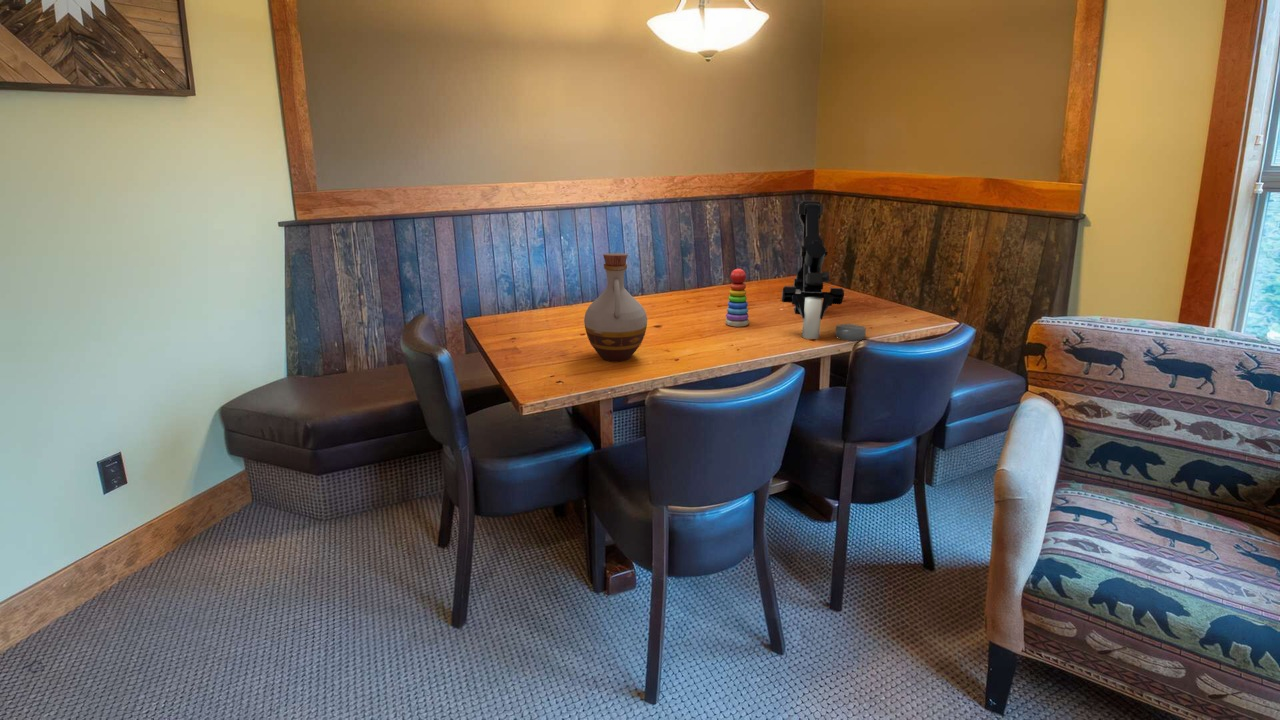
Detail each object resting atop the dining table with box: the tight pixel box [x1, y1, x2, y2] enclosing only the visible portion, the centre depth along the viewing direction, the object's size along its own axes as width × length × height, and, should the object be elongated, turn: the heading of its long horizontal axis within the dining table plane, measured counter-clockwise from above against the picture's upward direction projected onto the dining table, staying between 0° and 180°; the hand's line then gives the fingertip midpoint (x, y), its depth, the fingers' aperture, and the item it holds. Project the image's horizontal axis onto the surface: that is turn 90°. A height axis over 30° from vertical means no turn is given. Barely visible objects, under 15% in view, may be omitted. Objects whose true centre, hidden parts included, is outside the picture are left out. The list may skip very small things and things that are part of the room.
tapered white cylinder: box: [801, 297, 823, 340], centre depth 226 cm, size 5×5×12 cm
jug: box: [583, 252, 648, 363], centre depth 202 cm, size 20×18×30 cm
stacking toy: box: [724, 268, 750, 328], centre depth 240 cm, size 8×8×19 cm
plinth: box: [835, 323, 866, 342], centre depth 229 cm, size 9×9×3 cm
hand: (812, 318), depth 225 cm, fingers closed on tapered white cylinder, 5 cm apart
